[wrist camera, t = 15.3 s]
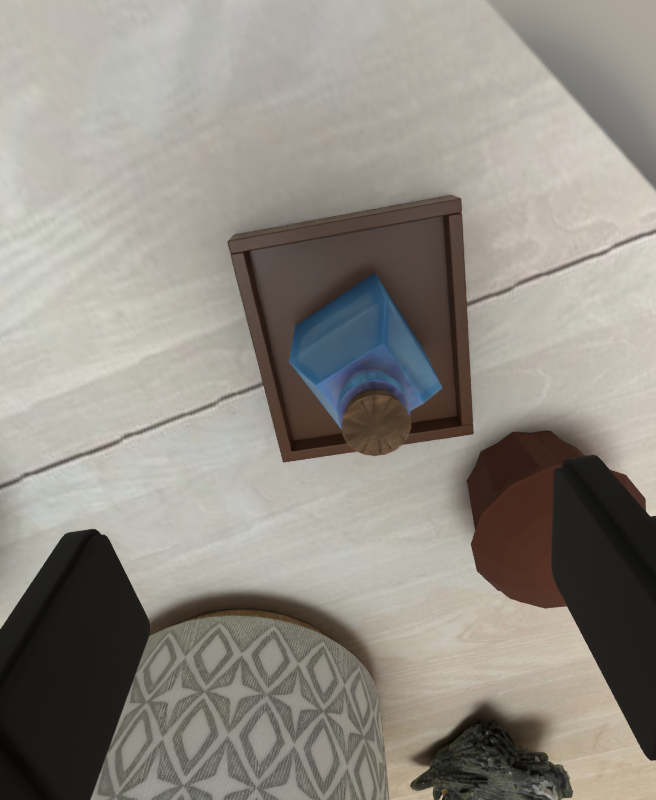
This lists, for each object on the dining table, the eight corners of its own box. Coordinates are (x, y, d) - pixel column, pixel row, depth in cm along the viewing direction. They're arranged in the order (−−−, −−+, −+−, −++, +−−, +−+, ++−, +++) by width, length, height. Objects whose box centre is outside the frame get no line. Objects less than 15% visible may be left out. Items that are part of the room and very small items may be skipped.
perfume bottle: (374, 272, 32) (400, 335, 21) (423, 349, 34) (468, 441, 23) (295, 326, 33) (280, 410, 22) (346, 395, 36) (355, 502, 25)
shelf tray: (233, 234, 31) (226, 240, 29) (452, 194, 30) (461, 197, 28) (285, 446, 38) (283, 462, 36) (465, 418, 37) (473, 434, 35)
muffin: (523, 386, 36) (588, 464, 27) (630, 458, 39) (721, 551, 30) (421, 498, 40) (448, 598, 32) (523, 556, 43) (574, 662, 34)
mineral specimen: (456, 739, 46) (522, 877, 41) (547, 685, 52) (614, 798, 47) (391, 763, 56) (436, 875, 51) (473, 715, 63) (521, 811, 57)
